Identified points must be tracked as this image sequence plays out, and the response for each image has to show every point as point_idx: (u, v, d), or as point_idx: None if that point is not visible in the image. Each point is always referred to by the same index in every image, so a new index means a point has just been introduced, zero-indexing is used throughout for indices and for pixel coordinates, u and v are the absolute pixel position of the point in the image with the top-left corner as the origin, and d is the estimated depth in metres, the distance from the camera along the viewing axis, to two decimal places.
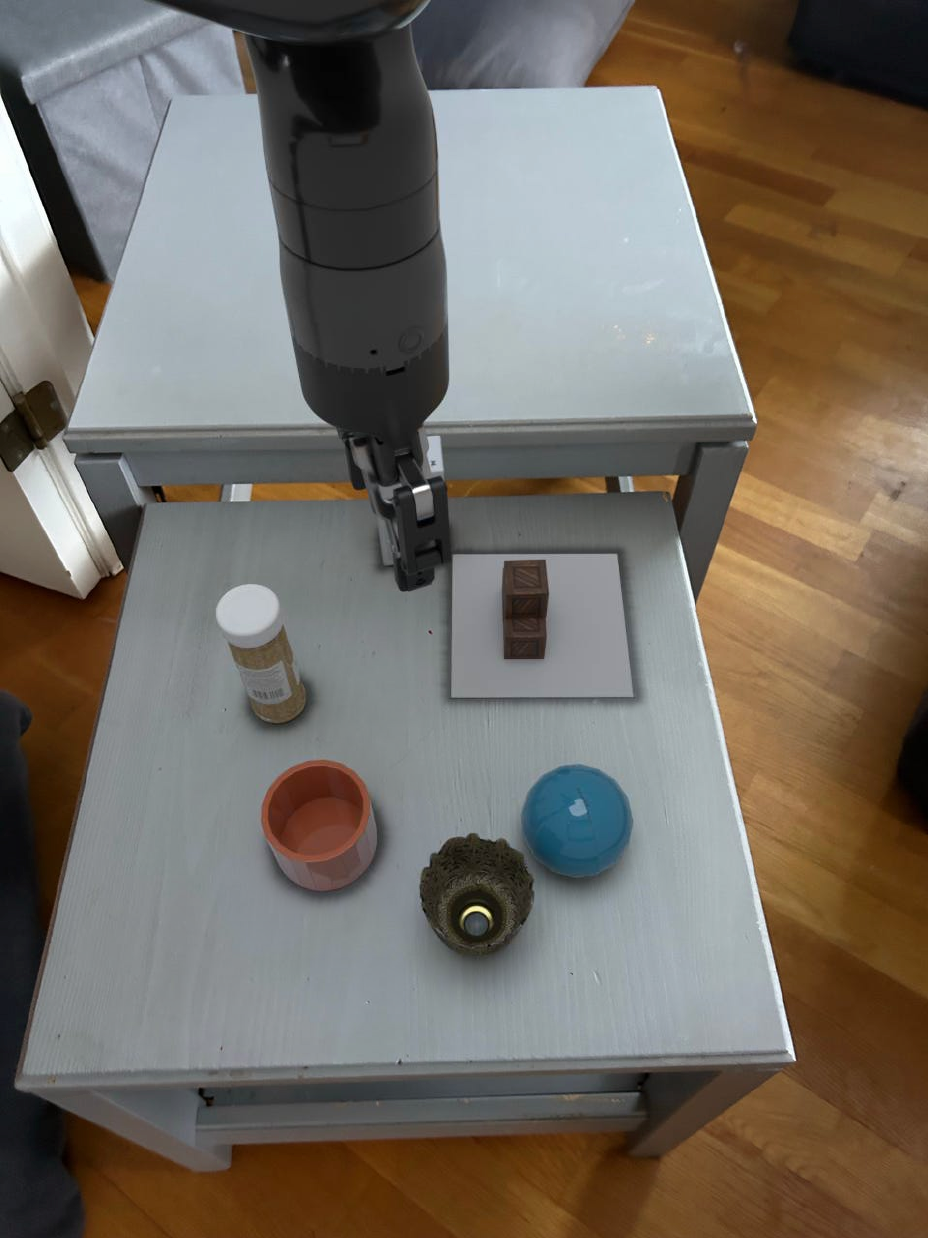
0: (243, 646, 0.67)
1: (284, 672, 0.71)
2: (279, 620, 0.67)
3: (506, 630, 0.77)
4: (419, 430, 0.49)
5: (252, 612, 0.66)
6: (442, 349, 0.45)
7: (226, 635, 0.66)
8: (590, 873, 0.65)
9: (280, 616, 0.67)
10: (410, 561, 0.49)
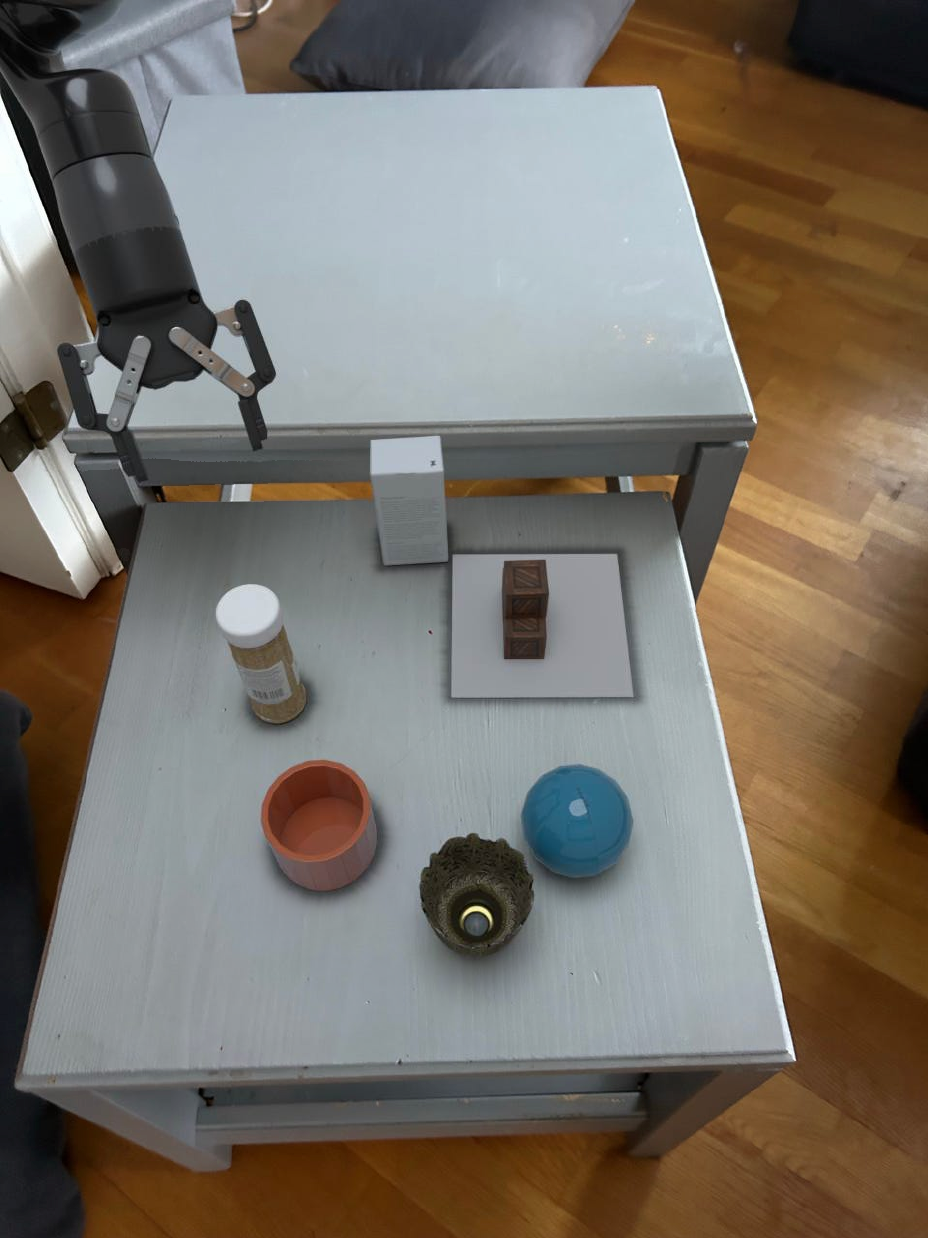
0: (243, 646, 0.67)
1: (284, 672, 0.71)
2: (279, 620, 0.67)
3: (506, 630, 0.77)
4: None
5: (252, 612, 0.66)
6: None
7: (226, 635, 0.66)
8: (590, 873, 0.65)
9: (280, 616, 0.67)
10: None
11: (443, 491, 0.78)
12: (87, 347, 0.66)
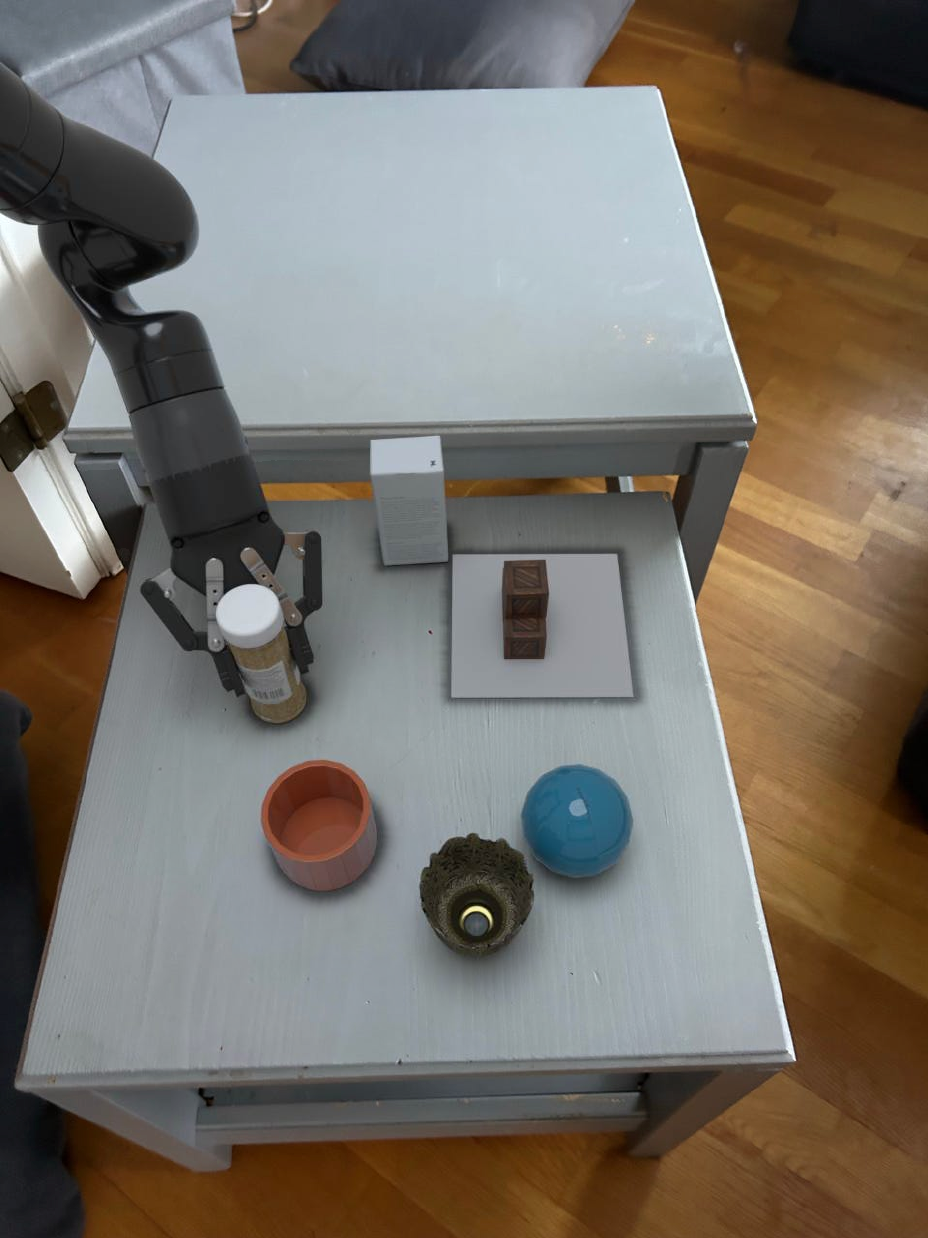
0: (243, 646, 0.67)
1: (284, 672, 0.71)
2: (279, 620, 0.67)
3: (506, 630, 0.77)
4: None
5: (252, 612, 0.66)
6: None
7: (226, 635, 0.66)
8: (590, 873, 0.65)
9: (280, 616, 0.67)
10: None
11: (443, 491, 0.78)
12: (164, 576, 0.68)
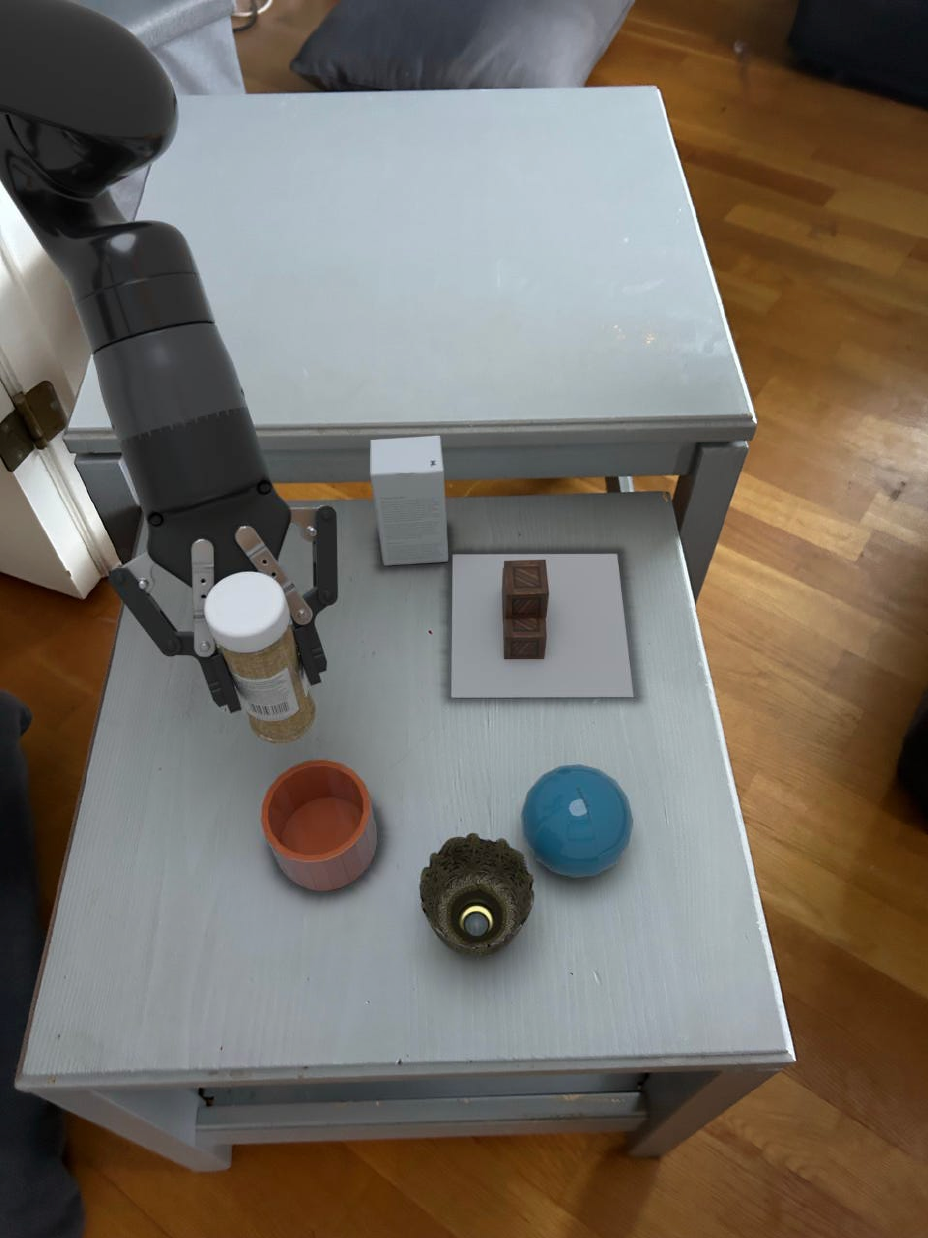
0: (239, 650, 0.53)
1: (290, 681, 0.57)
2: (285, 617, 0.53)
3: (506, 630, 0.77)
4: None
5: (251, 606, 0.52)
6: None
7: (217, 636, 0.52)
8: (590, 873, 0.65)
9: (286, 612, 0.53)
10: None
11: (443, 491, 0.78)
12: (139, 562, 0.54)
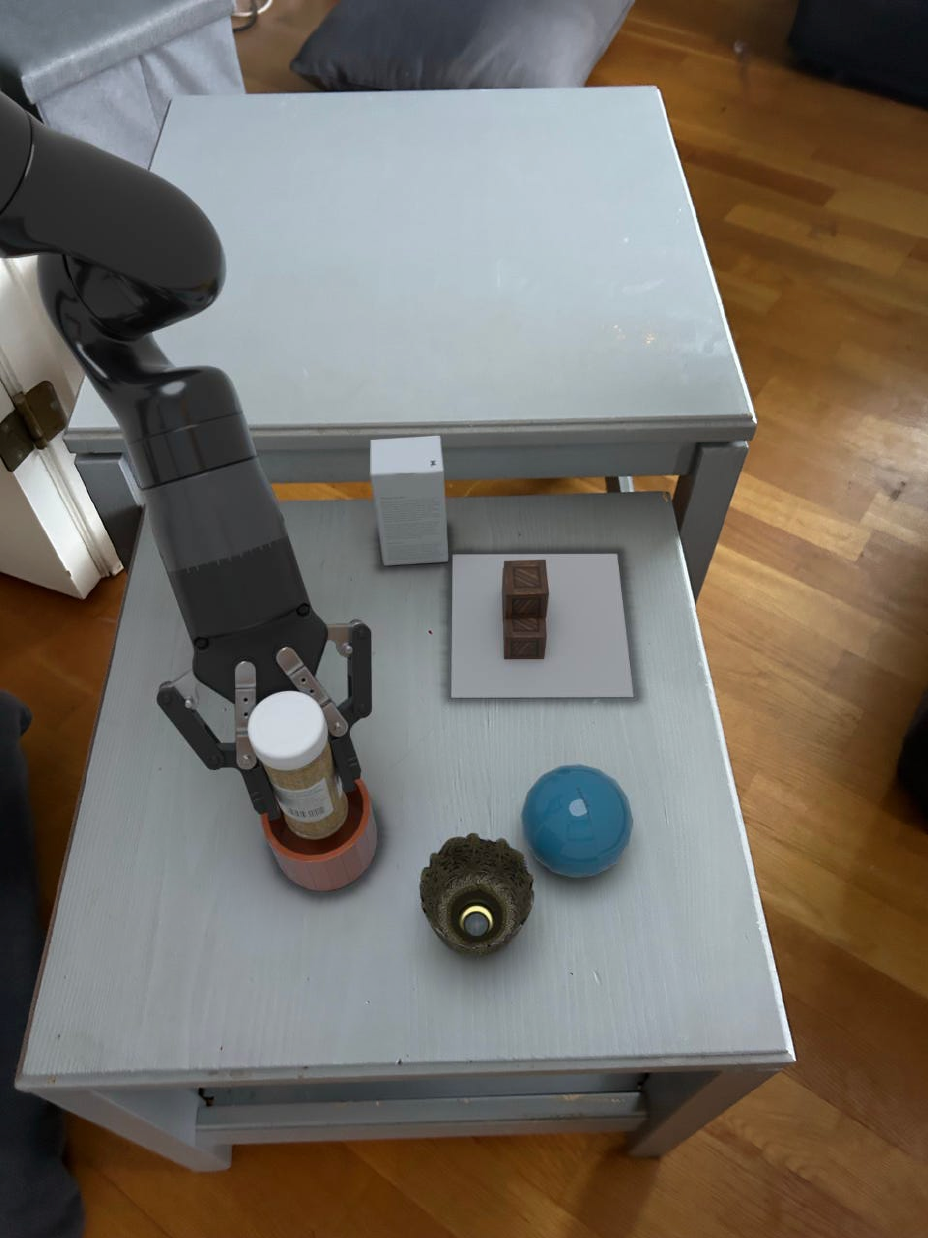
0: (281, 768, 0.56)
1: (327, 789, 0.60)
2: (324, 737, 0.56)
3: (506, 630, 0.77)
4: None
5: (292, 727, 0.55)
6: None
7: (260, 756, 0.55)
8: (590, 873, 0.65)
9: (325, 731, 0.56)
10: (371, 694, 0.60)
11: (443, 491, 0.78)
12: (185, 682, 0.57)
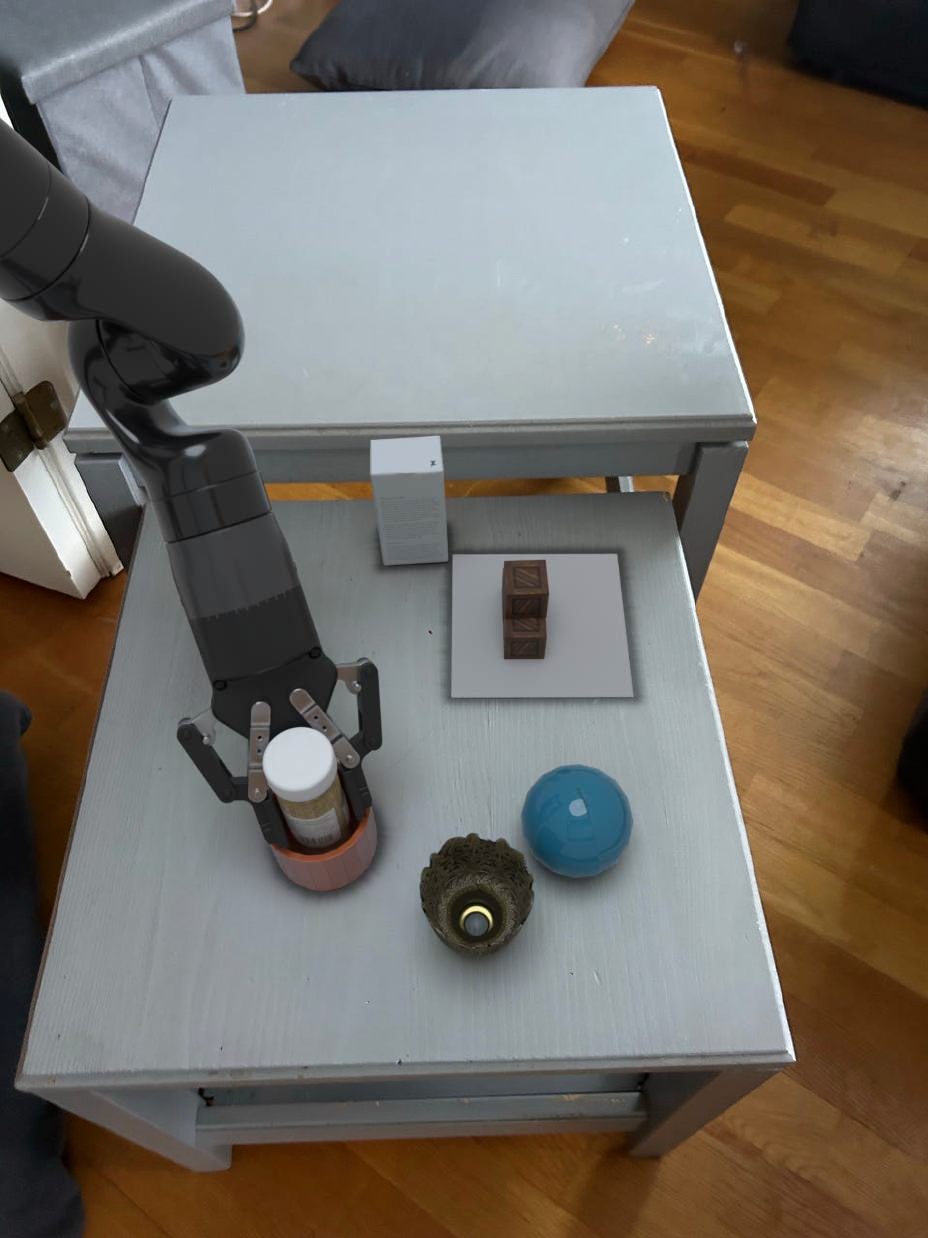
0: (293, 800, 0.60)
1: (335, 818, 0.64)
2: (333, 770, 0.60)
3: (506, 630, 0.77)
4: None
5: (304, 762, 0.59)
6: None
7: (274, 789, 0.59)
8: (590, 873, 0.65)
9: (334, 765, 0.60)
10: None
11: (443, 491, 0.78)
12: (203, 719, 0.61)
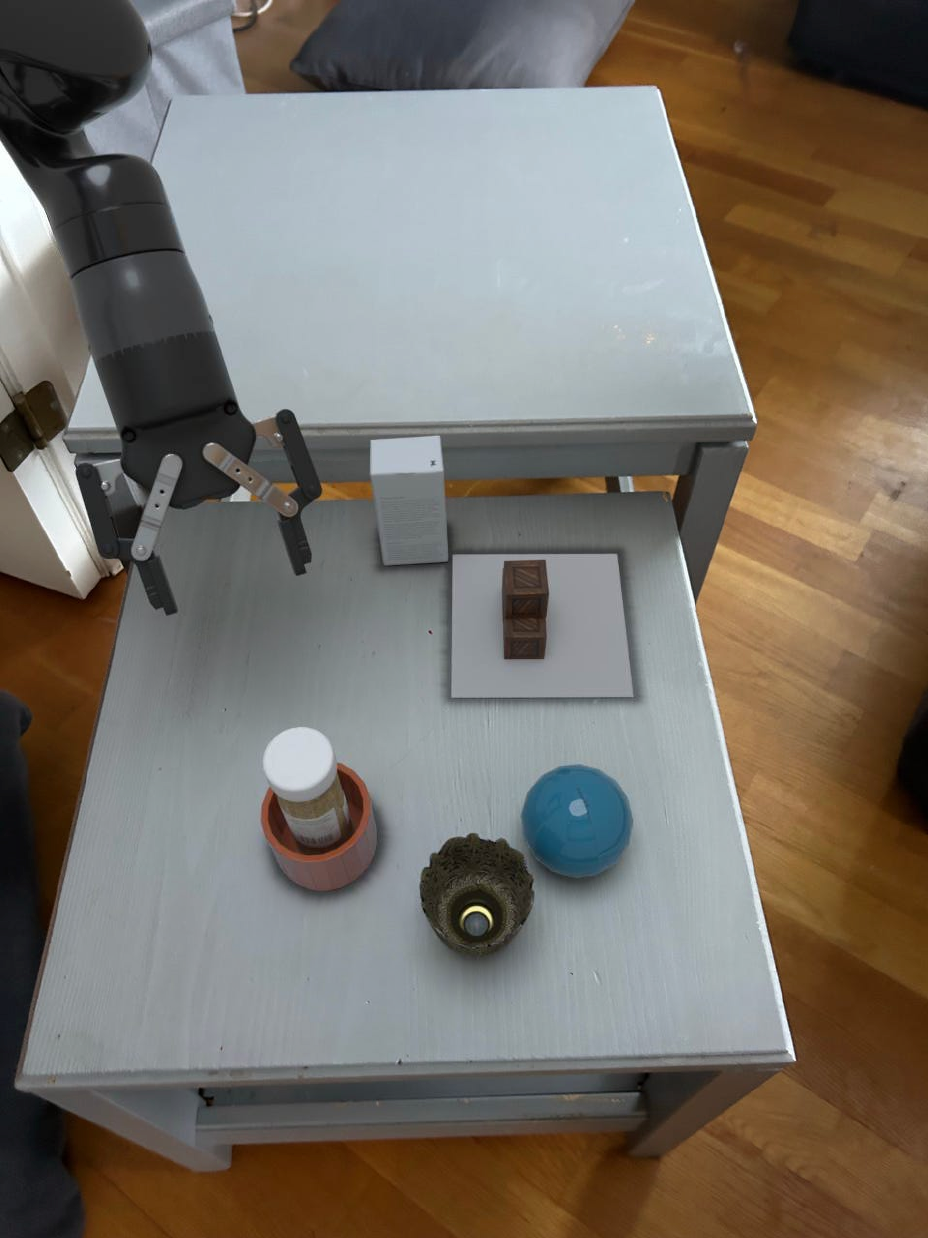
0: (293, 800, 0.60)
1: (335, 818, 0.64)
2: (333, 770, 0.60)
3: (506, 630, 0.77)
4: None
5: (304, 762, 0.59)
6: None
7: (274, 788, 0.59)
8: (590, 873, 0.65)
9: (334, 765, 0.60)
10: (316, 474, 0.61)
11: (443, 491, 0.78)
12: (109, 466, 0.58)
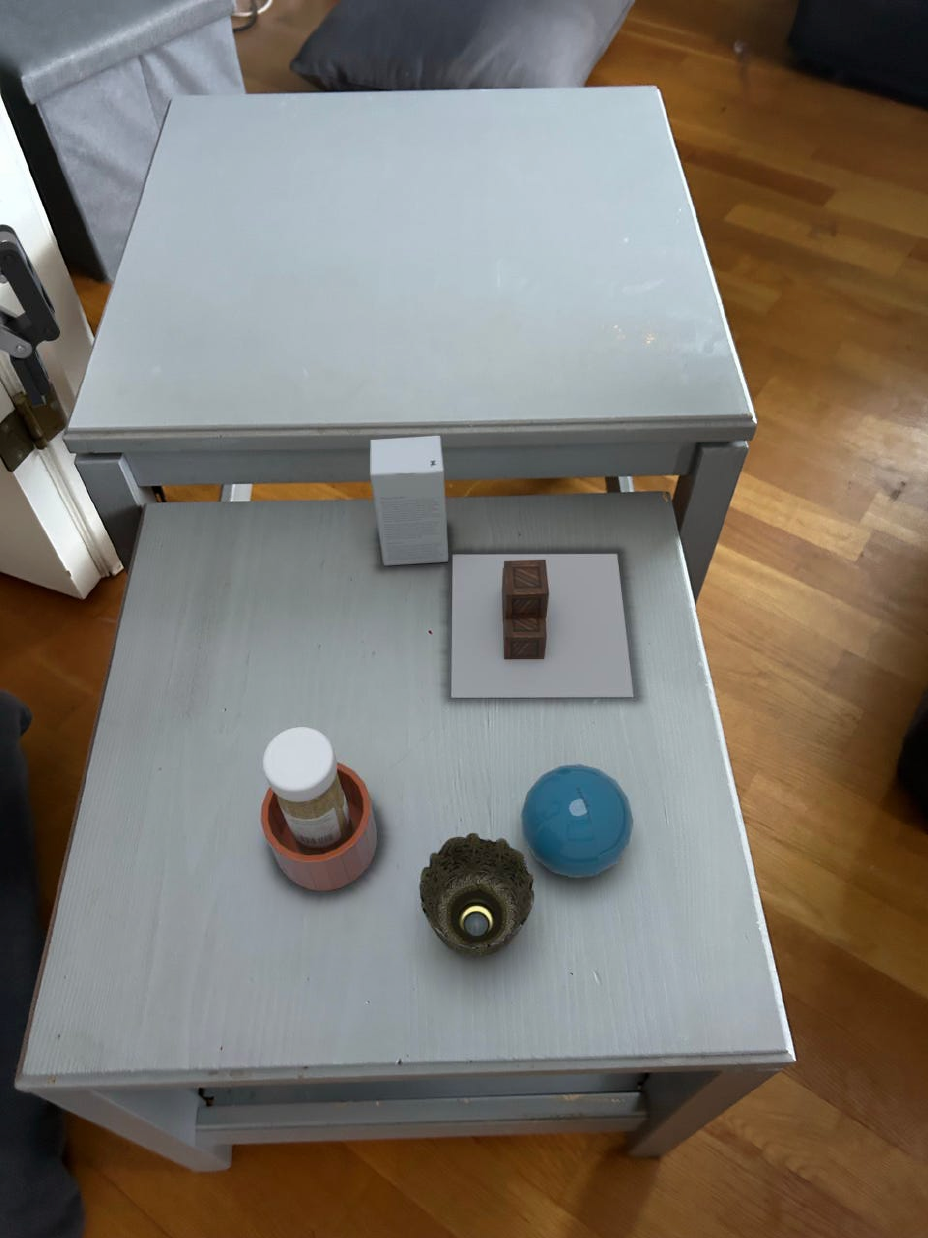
0: (293, 800, 0.60)
1: (335, 818, 0.64)
2: (333, 770, 0.60)
3: (506, 630, 0.77)
4: None
5: (304, 762, 0.59)
6: None
7: (274, 788, 0.59)
8: (590, 873, 0.65)
9: (334, 765, 0.60)
10: (52, 315, 0.53)
11: (443, 491, 0.78)
12: None
